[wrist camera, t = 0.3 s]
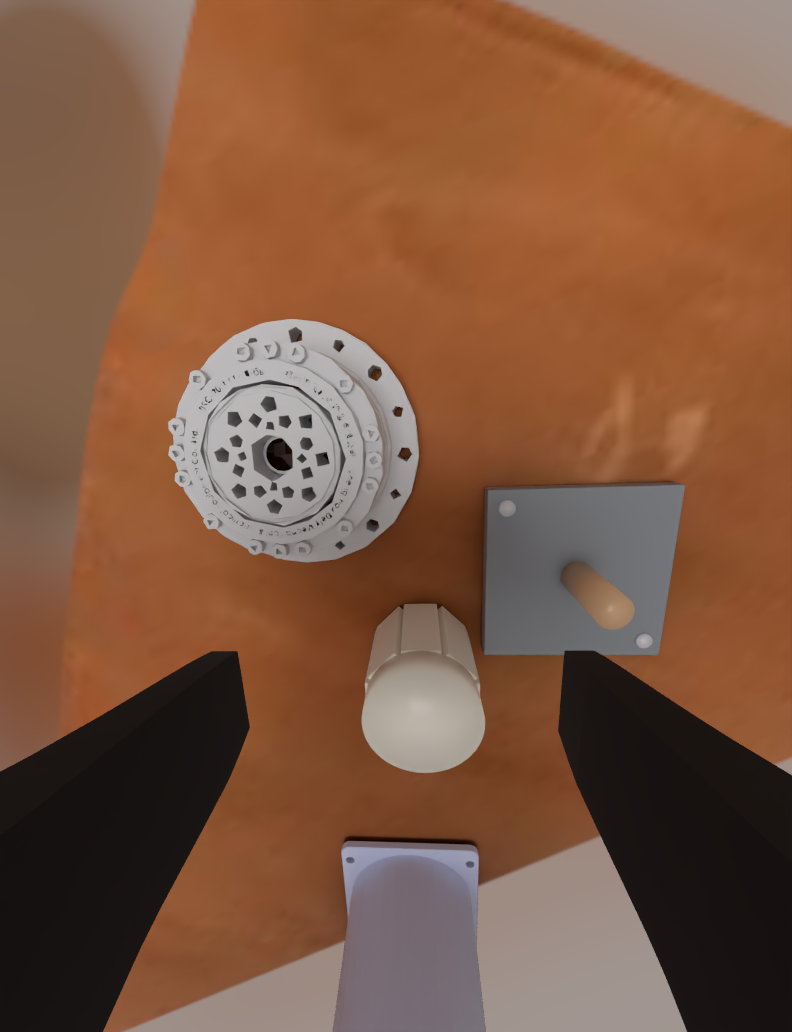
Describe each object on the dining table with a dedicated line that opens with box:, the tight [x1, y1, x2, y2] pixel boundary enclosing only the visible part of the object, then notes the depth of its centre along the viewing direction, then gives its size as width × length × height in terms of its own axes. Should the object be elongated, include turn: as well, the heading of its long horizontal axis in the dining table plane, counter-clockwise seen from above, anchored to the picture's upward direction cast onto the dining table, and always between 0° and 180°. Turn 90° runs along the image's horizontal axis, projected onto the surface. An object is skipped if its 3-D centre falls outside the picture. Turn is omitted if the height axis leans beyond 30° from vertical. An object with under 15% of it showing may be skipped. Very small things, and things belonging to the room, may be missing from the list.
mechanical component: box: [168, 319, 419, 562], centre depth 15 cm, size 10×4×10 cm
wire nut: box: [362, 604, 485, 773], centre depth 16 cm, size 5×5×5 cm
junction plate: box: [481, 482, 685, 655], centre depth 15 cm, size 8×8×4 cm
